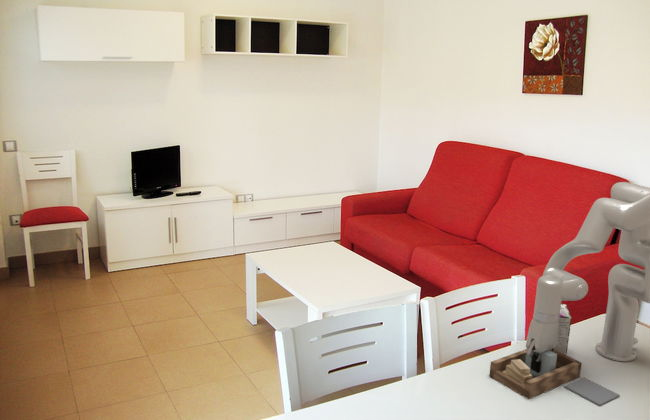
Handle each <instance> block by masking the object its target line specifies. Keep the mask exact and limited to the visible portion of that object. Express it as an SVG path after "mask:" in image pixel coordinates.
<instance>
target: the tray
mask: <svg viewBox="0 0 650 420" xmlns="http://www.w3.org/2000/svg"><path fill="white" fill-rule="evenodd" d="M526 350H527V348H525V349H523V350H520V351H517V352H514V353H512V354H509V355H506V356H503V357H500V358H497V359H495V360H491V361H490V365H489V374H488V375H489V377H490V378H491V379H493V380H494V381H496V382H498V383H500V384H502V385H504V386H506V387H507V388H509V389H511V390H513V392H516V393H517V394H520V395H521V396H522V397H524V398H526V399H527V400H529V399H532V398H534V397H538V396H540V395H541V394H543V393H546V392H548V391H550V390H553V389H555V388H557V387H559V386H563V385H564V384H565V385H566V384H568V383H570V382H571V381H572V382H573V381H574V380H576V379H580V376H581V370H582V364H583V363H582V362H581V361H579V360H576V359H575V358H573V357H571V356H569V355H568V354H567V355H565V354H562V353H560V352H558V351H556V350H553V352H554V353H556V354H557V360H556V367H555V370H553V371H551V372H548V373H546V374H543V375H541V376H538V377H536V376H535V377H534V378H533V377H532V379H531V380H528V381H526V386H525V385H523V384H522V383H520V382H518V381H516V380H515V379H513V378H511V377H509V376H507V375H506V374H504V373H502V371H505V370H506V365H510V364H511V360H517V359H520V360H521V361H522V362H524V363H525V359H526Z"/></svg>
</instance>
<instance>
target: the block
mask: <svg viewBox="0 0 650 420" xmlns="http://www.w3.org/2000/svg"><path fill="white" fill-rule="evenodd" d="M526 349H527V350H528V348H526ZM527 350H526V353H527ZM535 354H536V355H538V353H536V352H535ZM531 359H532V358H531V357H530V356H529V355H528V354H526V359H525V364H526V365H527V366H528V367H529V368H530V367H531ZM556 360H557V354H556V353H554V352H552V351H550V350H547V351H544V352H542V354H541V358H540V361H541V367H540V372H539V373H537V372H535V371H533V370H531V368H530V374H531V375H532V376H534V377H535V378H536V377H538V376H541V375H543V374H546V373H548V372H551V371H553V370H555V369H556V368H555V367H556Z"/></svg>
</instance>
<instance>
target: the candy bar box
mask: <svg viewBox="0 0 650 420" xmlns="http://www.w3.org/2000/svg"><path fill="white" fill-rule="evenodd" d="M569 311H570V310H569V309H568V306H567V304H564V303H561V309H560V316H559V336H558V342H557V346H556V347H555V348H554V350H556V351H558V352H560V353H562V354H565V355H567V356H568V349H569V348H568V347H569V339H570V332H571V326H572V325H571V324H572V316H571V313H570V312H569Z"/></svg>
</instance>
